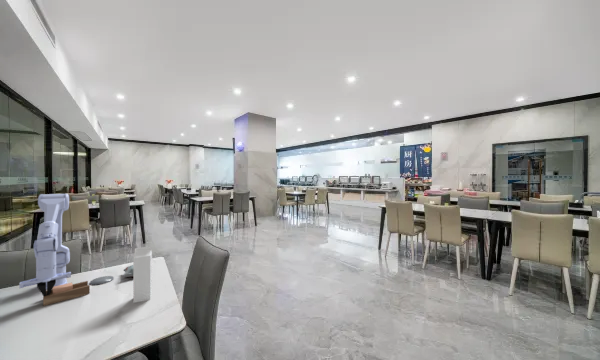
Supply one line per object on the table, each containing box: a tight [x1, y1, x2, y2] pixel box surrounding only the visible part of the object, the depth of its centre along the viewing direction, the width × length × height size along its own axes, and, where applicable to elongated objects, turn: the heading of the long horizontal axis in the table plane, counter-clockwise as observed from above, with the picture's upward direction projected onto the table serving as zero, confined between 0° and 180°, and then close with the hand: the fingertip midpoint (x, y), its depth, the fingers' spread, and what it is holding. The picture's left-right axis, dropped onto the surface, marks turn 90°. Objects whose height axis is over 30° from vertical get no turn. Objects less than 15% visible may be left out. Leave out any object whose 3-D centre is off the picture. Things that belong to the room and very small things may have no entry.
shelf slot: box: [42, 280, 90, 307], centre depth 103 cm, size 8×14×4 cm, turn 137°
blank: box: [53, 282, 74, 294], centre depth 102 cm, size 4×6×5 cm, turn 137°
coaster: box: [89, 275, 115, 286], centre depth 119 cm, size 9×9×1 cm
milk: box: [132, 246, 153, 304], centre depth 102 cm, size 6×6×22 cm
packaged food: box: [122, 264, 133, 278], centre depth 126 cm, size 9×12×5 cm
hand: (46, 299), depth 99 cm, fingers closed
